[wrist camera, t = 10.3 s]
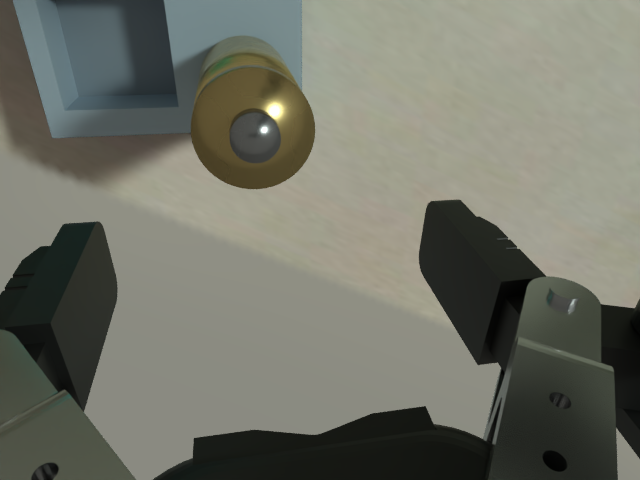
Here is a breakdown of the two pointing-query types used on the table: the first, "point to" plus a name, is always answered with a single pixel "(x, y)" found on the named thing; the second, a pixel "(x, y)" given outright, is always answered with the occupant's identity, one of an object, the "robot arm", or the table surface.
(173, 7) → the housing
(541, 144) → the table surface
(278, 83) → the gold battery
